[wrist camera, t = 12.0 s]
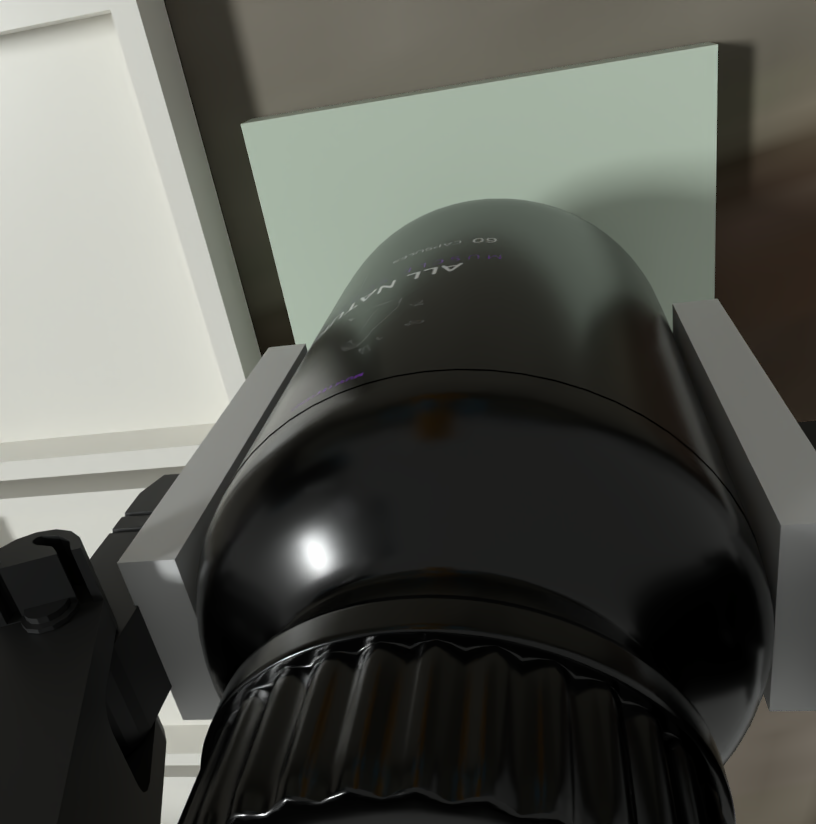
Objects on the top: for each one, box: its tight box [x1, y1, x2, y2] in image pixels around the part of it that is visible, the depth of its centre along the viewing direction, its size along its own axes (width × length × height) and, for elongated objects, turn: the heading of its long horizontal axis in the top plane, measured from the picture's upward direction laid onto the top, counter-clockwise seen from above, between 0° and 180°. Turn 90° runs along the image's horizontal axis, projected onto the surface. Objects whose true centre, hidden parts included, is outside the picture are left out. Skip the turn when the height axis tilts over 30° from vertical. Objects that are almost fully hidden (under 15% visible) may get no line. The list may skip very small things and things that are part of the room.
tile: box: [241, 42, 718, 351], centre depth 19 cm, size 10×10×1 cm
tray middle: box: [0, 466, 212, 766], centre depth 25 cm, size 11×11×1 cm
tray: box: [0, 0, 262, 481], centre depth 20 cm, size 11×11×1 cm
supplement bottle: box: [177, 198, 774, 824], centre depth 11 cm, size 7×7×12 cm
